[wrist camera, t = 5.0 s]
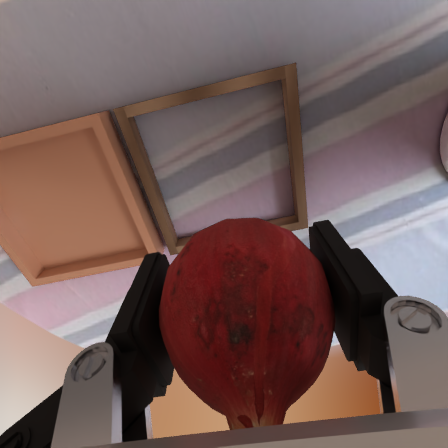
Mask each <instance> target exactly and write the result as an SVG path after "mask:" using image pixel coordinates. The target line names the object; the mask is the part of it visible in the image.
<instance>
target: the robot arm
mask: <svg viewBox="0 0 448 448" xmlns="http://www.w3.org/2000/svg"><path fill="white" fill-rule="evenodd" d="M440 154H441V159H442V163H443V165H444V167H445V169H446V171H447V173H448V114H447V116H446V119H445V121H444V124H443V128H442V133H441V137H440ZM309 240H310V251H311V252H312V253H313V254H314V255H315V256H316V257H317V259H318V260H319V261H320V262H321V263H322V266H323V269H324V272H325V275H326V278H327V281H328V285H329V288H330V292H331V295H332V298H333V302H334V308H335V320H336V323H335V328H334V332H335V334H336V336H337V339H338V341H339V343H340V345H341V347H342V350H343V352H344V354H345V357H346V359H347V360H348V361H354V363H355V366H356V368H357V370H358V371H363V370H366V371H367V373H368V374H369V375H371V376H373V377H375V378H376V379H377V386H378V394H379V403H380V411H381V414H376V415H366V416H357V417H347V418H338V419H328V420H318V421H309V422H299V423H290V424H281V425H272V426H262V427H253V428H244V429H235V430H226V431H217V432H209V433H199V434H190V435H182V436H174V437H164V438H155V439H153V433H152V424H151V414H150V406H149V404H150V403H151V402H152V401H153V397H159V396H165V394H166V388H167V385H170V384H171V382H172V377H173V371H174V366H173V364H172V362H171V360H170V357H169V354H168V352H167V349H166V347H165V344H164V341H163V337H162V334H161V330H160V327H159V306H160V301H161V296H162V291H163V286H164V282H165V278H166V274H167V270H168V267H169V266H170V265H169V262H168V260H167V257H166V255H165V254H161V253H160V252H155V253H149V254H146V255H145V256H144V259H143V261H142V263H141V265H140V267H139V270H138V272H137V274H136V276H135V279H134V281H133V283H132V285H131V287H130V289H129V291H128V292H127V295H126V297H125V299H124V301H123V303H122V306H121V308H120V310H119V312H118V314H117V317H116V319H115V321H114V323H113V325H112V328H111V330H110V332H109V334H108V336H107V338H106V341H105V342H101V343H96V344H93V345H91V346H89V347H87V348H85V349H84V350H83V351H81V352H80V353H79V354H78V355H77V356H76V357H75V358H74V359H73V360H72V362H71V363H70V365H69V366H68V369H67V372H66V374H65V379H64V384H63V386H62V387H60V388H59V389H58V390H57V391H55V392H54V393H53V394H51V395H50V396H49V397H48V398H47V399H45V400H44V401H43V402H42V403H40V404H39V405H38V406H36V407H35V408H34V409H33V410H31V411H30V412H29V413H28V414H26V415H25V416H24V417H23V418H21V419H20V420H19V421H17V422H16V423H15V424H14V425H12V426H11V427H10V428H9V429H7V430H6V431H5V432H4V433H3V434H2V435H1V436H0V448H448V318H447V316H446V314H445V313H444V312H443V311H442V310H441V309H440V308H439V307H437V306H436V305H434V304H432V303H431V302H429V301H426V300H424V299H421V298H417V297H412V296H399V297H398V295H397V294H396V293H395V292H394V290H393V289H392V288H391V287H390V286H389V284H388V283H387V282H386V281H385V279H384V278H383V277H382V276H381V274H380V273H379V272H378V271H377V270H376V268H375V267H374V266H373V265H372V263H371V262H370V261H369V260H368V258H367V257H366V256H365V255H364V254H363V252H362V251H361V250H360V249H358V248H354V249H350V247H349V246H348V245H347V243H346V242H345V241H344V239H343V238H342V237H341V235H340V234H339V233H338V231H337V230H336V229H335V227H334V226H333V225H332V224H331V222H330V221H329V220H324V221H319V222H314V223H313V226H312V227H309Z"/></svg>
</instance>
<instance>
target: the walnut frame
mask: <svg viewBox="0 0 448 448" xmlns="http://www.w3.org/2000/svg"><path fill="white" fill-rule="evenodd" d="M277 80H281V81H282V91H283V101H284V111H285V121H286V131H287V141H288V151H289V162H290V172H291V182H292V192H293V202H294V212H295V215H292V216H287V217H283V218H278V219H273V220H268V221H267V222H270V223H272V224H275V225H277V226H280V227H282V228H285V229H288V230H290V231H294V230H299V229H304V228H308V219H307V205H306V191H305V177H304V164H303V150H302V136H301V123H300V109H299V95H298V81H297V68H296V63H293V64H289V65H285V66H281V67H277V68H273V69H269V70H265V71H261V72H257V73H253V74H249V75H245V76H242V77H238V78H234V79H230V80H226V81H222V82H218V83H214V84H210V85H206V86H202V87H198V88H194V89H190V90H186V91H182V92H178V93H175V94H171V95H167V96H163V97H159V98H155V99H151V100H147V101H143V102H139V103H135V104H131V105H127V106H123V107H119V108H115V109H113V111H114V113H115V116H116V118H117V121H118V123H119V126H120V128H121V131H122V133H123V136H124V138H125V141H126V143H127V146H128V149H129V151H130V154H131V156H132V159H133V161H134V164H135V166H136V169H137V171H138V174H139V176H140V179H141V181H142V184H143V187H144V189H145V192H146V194H147V197H148V199H149V202H150V204H151V207H152V209H153V212H154V214H155V217H156V219H157V222H158V225H159V227H160V230H161V232H162V235H163V237H164V240H165V242H166V245H167V247H168V250H169V252H170V255H174V254H179V253H180V251H181V250H182V249H183V247H184V246H185V245H186V243H187V242H188V241H189V240H190V238H191V237H192V236H190V237H185V238H180V239H178V238H177V235H176V232H175V229H174V227H173V224H172V221H171V218H170V216H169V213H168V210H167V208H166V205H165V202H164V199H163V197H162V194H161V191H160V188H159V186H158V183H157V180H156V177H155V175H154V172H153V169H152V166H151V164H150V161H149V158H148V155H147V153H146V150H145V147H144V144H143V142H142V139H141V136H140V133H139V131H138V128H137V125H136V122H135V120H134V117H133V116H137V115H141V114H145V113H149V112H153V111H157V110H161V109H165V108H169V107H173V106H177V105H181V104H185V103H189V102H193V101H197V100H201V99H205V98H209V97H213V96H217V95H221V94H225V93H229V92H233V91H237V90H241V89H245V88H249V87H253V86H257V85H261V84H265V83H269V82H273V81H277Z"/></svg>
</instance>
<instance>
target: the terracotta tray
mask: <svg viewBox="0 0 448 448" xmlns="http://www.w3.org/2000/svg"><path fill="white" fill-rule="evenodd" d="M0 245H1V246H2V248H3V249H4V250H5V252H6V253H7V254H8V255H9V257H10V258H11V259H12V261H13V262H14V263H15V265H16V266H17V267H18V268H19V270H20V271H21V272H22V274H23V275H24V276H25V277H26V279H27V280H28V281H29V283H30V284H31V285H32V287H33V286H38V285H43V284H48V283H53V282H58V281H63V280H68V279H73V278H78V277H83V276H89V275H94V274H99V273H104V272H109V271H114V270H119V269H124V268H129V267H134V266H139V265H141V263H142V261H143V259H144V256H145V255H146V254H149V253H155V252H160V253H161V254H163V252H164V249H165V248H164V246H163V243H162V241H161V238H160V236H159V233H158V231H157V228H156V226H155V223H154V221H153V218H152V216H151V213H150V211H149V208H148V206H147V203H146V201H145V198H144V196H143V193H142V191H141V188H140V186H139V184H138V181H137V179H136V176H135V174H134V171H133V169H132V166H131V164H130V161H129V159H128V156H127V154H126V151H125V149H124V146H123V144H122V141H121V139H120V136H119V134H118V131H117V129H116V126H115V124H114V121H113V119H112V116H111V114H110V111H109V110H108V111H104V112H100V113H96V114H92V115H88V116H84V117H80V118H76V119H72V120H68V121H64V122H60V123H56V124H52V125H48V126H44V127H40V128H37V129H33V130H29V131H25V132H21V133H17V134H13V135H9V136H5V137H1V138H0Z"/></svg>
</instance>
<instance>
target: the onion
mask: <svg viewBox="0 0 448 448" xmlns="http://www.w3.org/2000/svg"><path fill="white" fill-rule="evenodd" d="M335 323H336V320H335V308H334V302H333V298H332V295H331V292H330V288H329V285H328V281H327V278H326V275H325V272H324V269H323V266H322V263H321V262H320V261H319V260H318V259H317V257H316V256H315V255H314V254H313V253H312V252H311V251H310V249H309V248H308V247H307V246H306V245H304V244H303V243H302V242H301V241H300V240H299V239H298V238H297V237H296V236H295V235H294V234H293V233H292V232H291V231H290V230H288V229H285V228H282V227H280V226H277V225H275V224H272V223H270V222H267V221H265V220H262V219H259V218H239V219H225V220H222V221H220V222H218V223H216V224H214V225H212V226H210V227H208V228H205V229H203V230H201V231H199V232H197V233H195V234H193V236H192V237H191V238H190V240H189V241H188V242H187V243H186V245H185V246H184V247H183V249H182V250H181V251H180V253H179V254H178V255H177V257H176V258H175V259H174V261H173V262H172V263H171V265H170V266H169V267H168V270H167V274H166V278H165V282H164V286H163V291H162V296H161V301H160V306H159V327H160V330H161V334H162V337H163V341H164V344H165V347H166V349H167V352H168V354H169V357H170V360H171V362H172V364H173V366H174V368H175V370H176V371H177V373H178V375H179V377H180V378H181V379H182V380H183V382H184V383H185V384H186V385H187V386H188V388H189V389H190V390H191V391H193V392H194V393H195V394H196V395H197V396H198V397H199V398H200V399H201V400H202V401H203V402H204V403H206V404H207V405H208V406H210V407H211V408H212V409H214V410H216V411H218V412H219V413H221V414H223V415H225V416H226V418H227V421H228V425H229V428H230V430H235V429H244V428H253V427H262V426H272V425H281V424H283V421H284V418H285V414H286V411H287V410H288V408H289V407H290V406H291V405H292V404H293V403H295V402H296V401H297V400H298V399H299V398H300V397H301V396H302V395H303V394H304V393H305V392H306V391H307V390H308V389H309V388H310V387H311V386H312V385H313V384H314V382H315V381H316V379H317V378H318V376H319V375H320V373H321V372H322V370H323V368H324V365H325V363H326V360H327V358H328V355H329V351H330V347H331V343H332V338H333V333H334V328H335Z"/></svg>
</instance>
